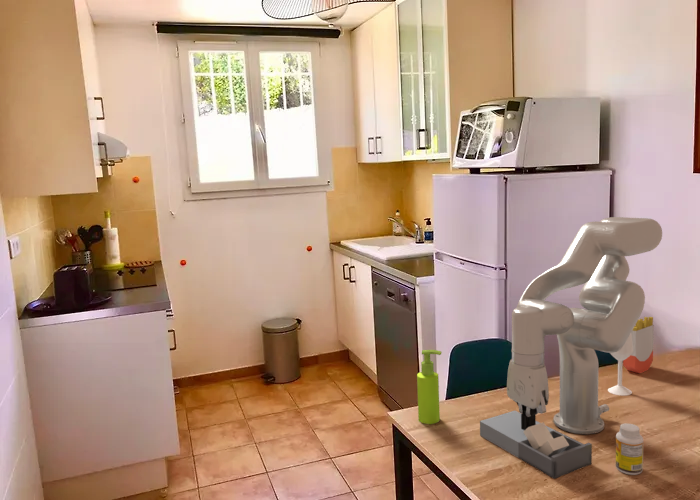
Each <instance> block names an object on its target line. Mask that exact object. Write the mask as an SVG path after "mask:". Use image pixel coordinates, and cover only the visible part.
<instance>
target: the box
mask: <svg viewBox="0 0 700 500" xmlns="http://www.w3.org/2000/svg"><path fill="white" fill-rule="evenodd" d="M560 436H564V438H565V439H566V441H567V442H568V444H569V446H568V447H567V448H566V449H564V450H563V451H562V452H561V453H559V454H556V455H553V456H551V457H548V456H546V455H545V454H543V453H541V452H539V451H537V450H536V449H534V448H532V447H530V446H528V445H526V444H525V443H523V442H518V452H519V458H518V459H519V460H521V461H522V462H525V463H526V464H528V465H530V467H531V466H532V467H533V468H534V469H536V470H537V471H540V472H541V473H543V474H545V475H547V476H548V477H550V478H552V479H553V480H554V479H557V478H560V477H562V476H565V475H567V474H570V473H573V472H575V471H578V470H581V469H583V468H585V467H588V466H591V465H593V464H592V463H593V462H592V461H593V459H592V458H593V457H592V454H593V452H592V450H593V444H592V443H591V442H586V443H585V444H584V443H582V442H580V441H578V440H576V439H574V438H572V437H570V436H568V435H566V434H564V433H563V432H559V431H558V430H556V429H554V431H553V438H557V437H560Z"/></svg>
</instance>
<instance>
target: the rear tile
mask: <svg viewBox="0 0 700 500" xmlns="http://www.w3.org/2000/svg"><path fill="white" fill-rule="evenodd" d="M539 423H540V424H537V425H534V426H530V427H528V428H527V429H526V430H525V431H524V434H525V436H526V437H527V439H528V441H529V443H530V444H531V446H532V448H534V449H536V450H538V449H539V448H540V447H541V446H542V445H543V444H544V443H546V442H547V441H548V440H551V439H554V438H553V437H552V435H551V433H550V432H549V430H548V429H547V427H546V426H547V425H546V424H545V422H539Z"/></svg>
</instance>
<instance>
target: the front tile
mask: <svg viewBox="0 0 700 500" xmlns="http://www.w3.org/2000/svg"><path fill="white" fill-rule="evenodd" d="M568 446H569V444H568V442H567V441H566V439H565V438H564V436H560V437H557V438H554V439H551V440H548V441H547V442H546V443H544V444H543V445H542V446H541V447H540V448H539V449H538V450H537V451H539V452H541V453H543V454H545V455H546V456H548V457H551V456H553V455H556V454H559V453H561V452H562V451H563V450H564V449H566V448H567V447H568Z"/></svg>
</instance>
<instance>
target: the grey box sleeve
mask: <svg viewBox="0 0 700 500" xmlns="http://www.w3.org/2000/svg"><path fill="white" fill-rule="evenodd" d="M521 414H522V413H520V412H519V411H517V410H512V411H509V412H505V413H502V414H499V415H495V416H492V417H489V418H485V419H483V420H482V419H481V420H479V436H480V437H481V438H483V439H485V440H487V441H489V442H490V443H492V444H493V445H495V446H497V447H499V448H501V449H502V450H504V451H506V452H507V453H509V454H510V455H513V456H514V457H516V458H518V459H519V452H518V442H523V443H525V444H526V445H528V446H530V447H532V446H531V444H530V443H529V441H528V439H527V437H526V436H525V434H524V431H525V430H523V429H521ZM540 423H541V422H539V421H537V420H536V425H537V424H540ZM546 427H547V429H548V430H549V432H550V433H551V435H552V437H553V431H554V430H555V429H553V428H551V427H549V426H547V425H546Z"/></svg>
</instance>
